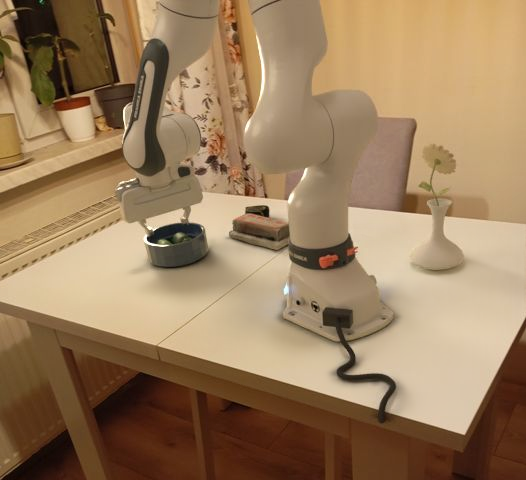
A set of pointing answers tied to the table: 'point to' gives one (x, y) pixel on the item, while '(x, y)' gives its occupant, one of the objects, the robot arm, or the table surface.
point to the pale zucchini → (163, 242)
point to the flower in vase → (437, 217)
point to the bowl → (176, 245)
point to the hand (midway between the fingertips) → (168, 230)
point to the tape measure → (258, 210)
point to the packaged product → (261, 231)
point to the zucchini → (180, 238)
